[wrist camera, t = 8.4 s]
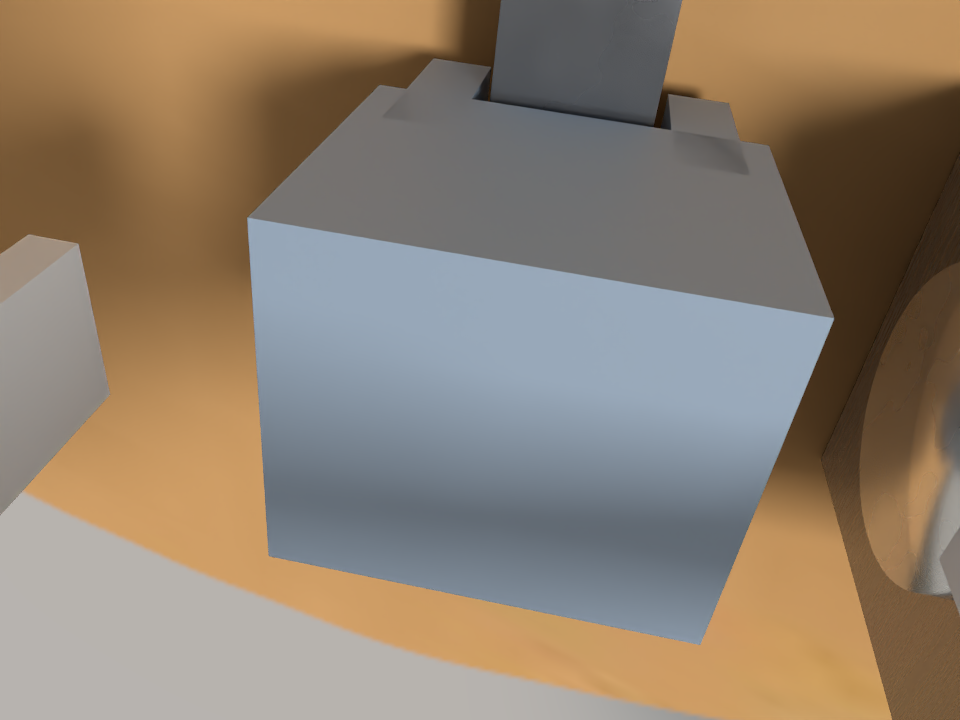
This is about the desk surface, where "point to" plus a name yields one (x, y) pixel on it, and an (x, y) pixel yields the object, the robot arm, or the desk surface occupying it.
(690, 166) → the block
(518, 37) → the rail
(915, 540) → the cabinet
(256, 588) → the desk surface
